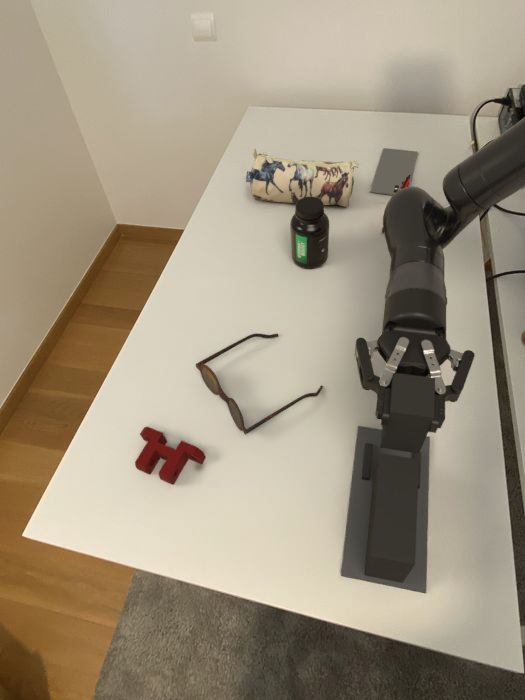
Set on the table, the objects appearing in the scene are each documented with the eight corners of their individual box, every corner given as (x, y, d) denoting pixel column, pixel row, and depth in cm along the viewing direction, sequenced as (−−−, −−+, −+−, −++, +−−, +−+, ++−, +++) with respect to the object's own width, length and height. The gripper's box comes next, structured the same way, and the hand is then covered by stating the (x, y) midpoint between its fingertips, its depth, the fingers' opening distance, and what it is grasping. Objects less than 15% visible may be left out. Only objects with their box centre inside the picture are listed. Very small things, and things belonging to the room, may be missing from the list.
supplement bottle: (303, 275, 92) (302, 223, 82) (285, 253, 95) (282, 201, 86) (335, 260, 93) (337, 208, 83) (315, 240, 97) (316, 187, 87)
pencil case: (247, 207, 104) (242, 166, 96) (257, 183, 109) (253, 141, 101) (352, 217, 100) (356, 174, 92) (358, 190, 105) (361, 148, 97)
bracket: (202, 449, 69) (142, 424, 72) (181, 485, 67) (120, 458, 70) (205, 457, 72) (147, 433, 75) (186, 492, 69) (126, 466, 72)
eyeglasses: (198, 375, 80) (192, 357, 76) (274, 331, 84) (272, 312, 80) (246, 443, 73) (243, 427, 69) (328, 391, 77) (329, 373, 73)
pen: (411, 177, 105) (412, 173, 104) (383, 236, 96) (384, 231, 95) (407, 176, 105) (407, 172, 105) (379, 235, 96) (380, 230, 95)
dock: (429, 438, 71) (443, 404, 63) (425, 593, 59) (442, 575, 51) (357, 427, 73) (363, 393, 65) (340, 576, 61) (345, 555, 53)
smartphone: (418, 151, 111) (407, 194, 102) (417, 153, 111) (407, 197, 102) (383, 147, 112) (370, 190, 103) (383, 150, 113) (369, 192, 104)
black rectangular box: (420, 416, 62) (435, 377, 55) (419, 453, 59) (434, 417, 52) (383, 411, 63) (393, 372, 56) (380, 447, 60) (390, 411, 53)
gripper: (466, 331, 65) (469, 451, 56) (355, 318, 68) (340, 431, 58) (482, 292, 59) (488, 419, 49) (360, 280, 62) (344, 398, 52)
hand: (408, 424), depth 54 cm, fingers closed on black rectangular box, 4 cm apart
